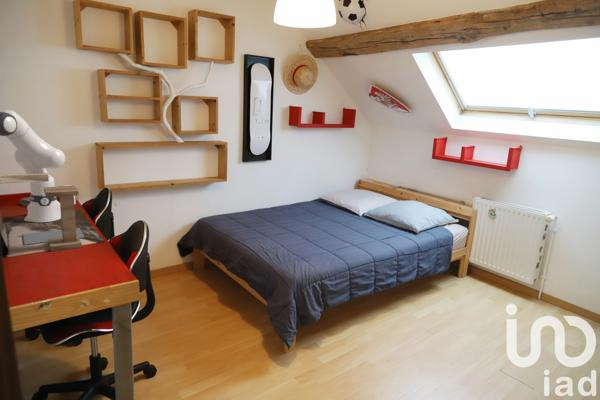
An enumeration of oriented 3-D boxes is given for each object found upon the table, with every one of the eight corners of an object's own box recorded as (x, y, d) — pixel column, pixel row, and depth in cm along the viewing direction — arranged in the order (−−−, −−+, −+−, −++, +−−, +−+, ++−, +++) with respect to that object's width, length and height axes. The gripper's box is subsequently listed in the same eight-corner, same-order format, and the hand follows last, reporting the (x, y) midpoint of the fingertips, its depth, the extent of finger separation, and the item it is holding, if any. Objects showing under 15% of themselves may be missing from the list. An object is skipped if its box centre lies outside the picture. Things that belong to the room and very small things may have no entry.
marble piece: (35, 209, 239) (34, 202, 238) (14, 207, 242) (13, 200, 241) (57, 203, 254) (57, 197, 253) (38, 201, 258) (37, 194, 257)
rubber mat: (23, 235, 195) (22, 234, 195) (79, 228, 209) (79, 227, 209) (24, 245, 183) (24, 244, 183) (84, 237, 197) (84, 237, 196)
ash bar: (-10, 182, 167) (-10, 175, 166) (48, 180, 178) (47, 173, 177) (-10, 184, 164) (-11, 176, 164) (48, 181, 176) (48, 174, 175)
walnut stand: (48, 243, 187) (43, 187, 181) (77, 239, 194) (74, 185, 188) (50, 251, 178) (46, 192, 172) (81, 247, 185) (78, 190, 179)
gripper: (-44, 196, 152) (-6, 176, 157) (-40, 185, 168) (-6, 167, 173) (-31, 209, 155) (5, 189, 160) (-29, 198, 171) (5, 180, 176)
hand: (0, 178), depth 167 cm, fingers closed on ash bar, 3 cm apart
